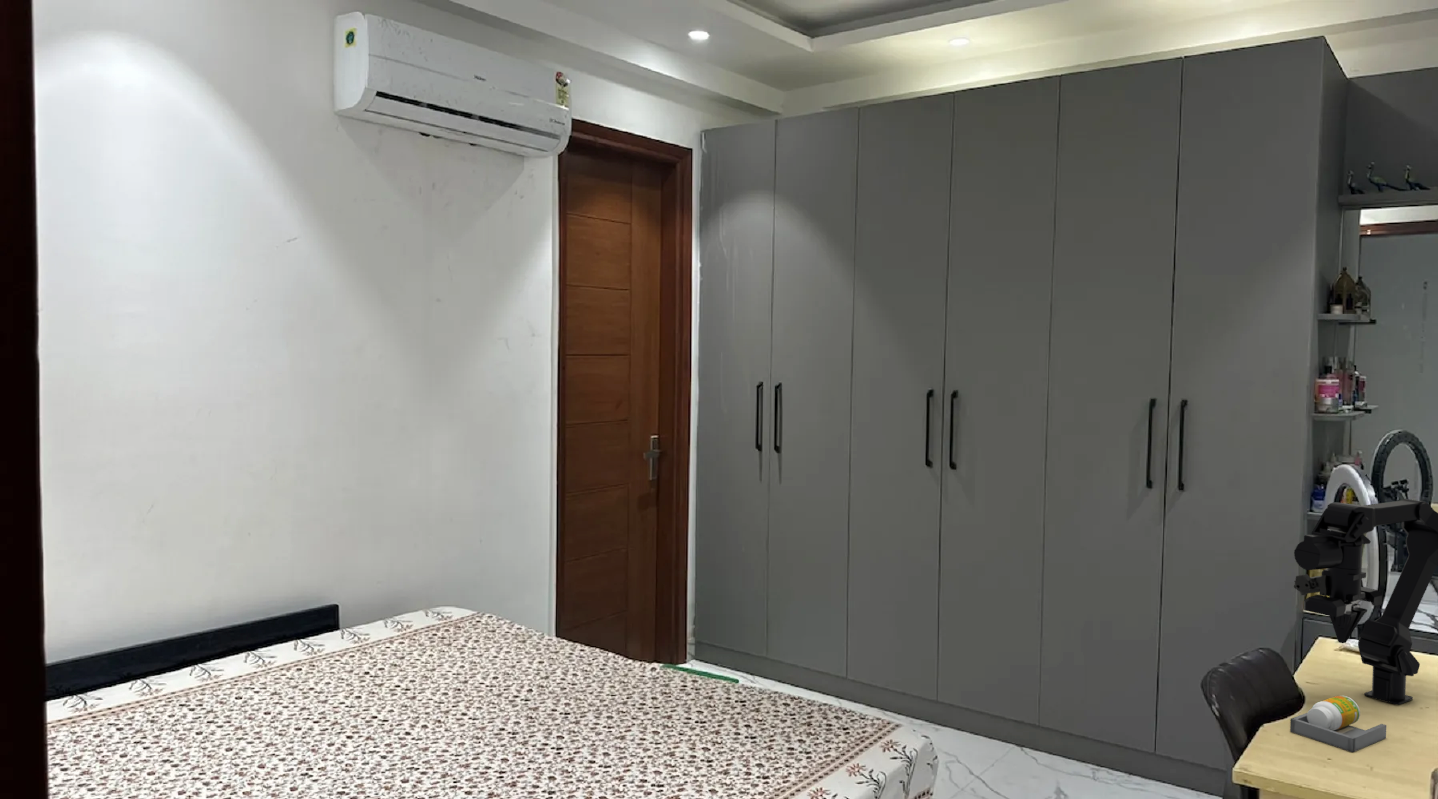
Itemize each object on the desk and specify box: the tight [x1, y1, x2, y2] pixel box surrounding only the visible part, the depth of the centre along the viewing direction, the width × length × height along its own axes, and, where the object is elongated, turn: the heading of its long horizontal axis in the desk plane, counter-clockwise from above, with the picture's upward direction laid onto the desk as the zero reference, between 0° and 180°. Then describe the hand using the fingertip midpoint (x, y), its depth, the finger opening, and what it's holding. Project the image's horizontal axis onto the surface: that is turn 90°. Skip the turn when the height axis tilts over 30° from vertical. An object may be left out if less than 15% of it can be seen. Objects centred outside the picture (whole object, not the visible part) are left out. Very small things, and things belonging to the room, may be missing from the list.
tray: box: [1289, 712, 1387, 753], centre depth 182 cm, size 12×11×2 cm
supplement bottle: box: [1306, 695, 1361, 731], centre depth 185 cm, size 5×5×10 cm
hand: (1342, 642), depth 196 cm, fingers closed
